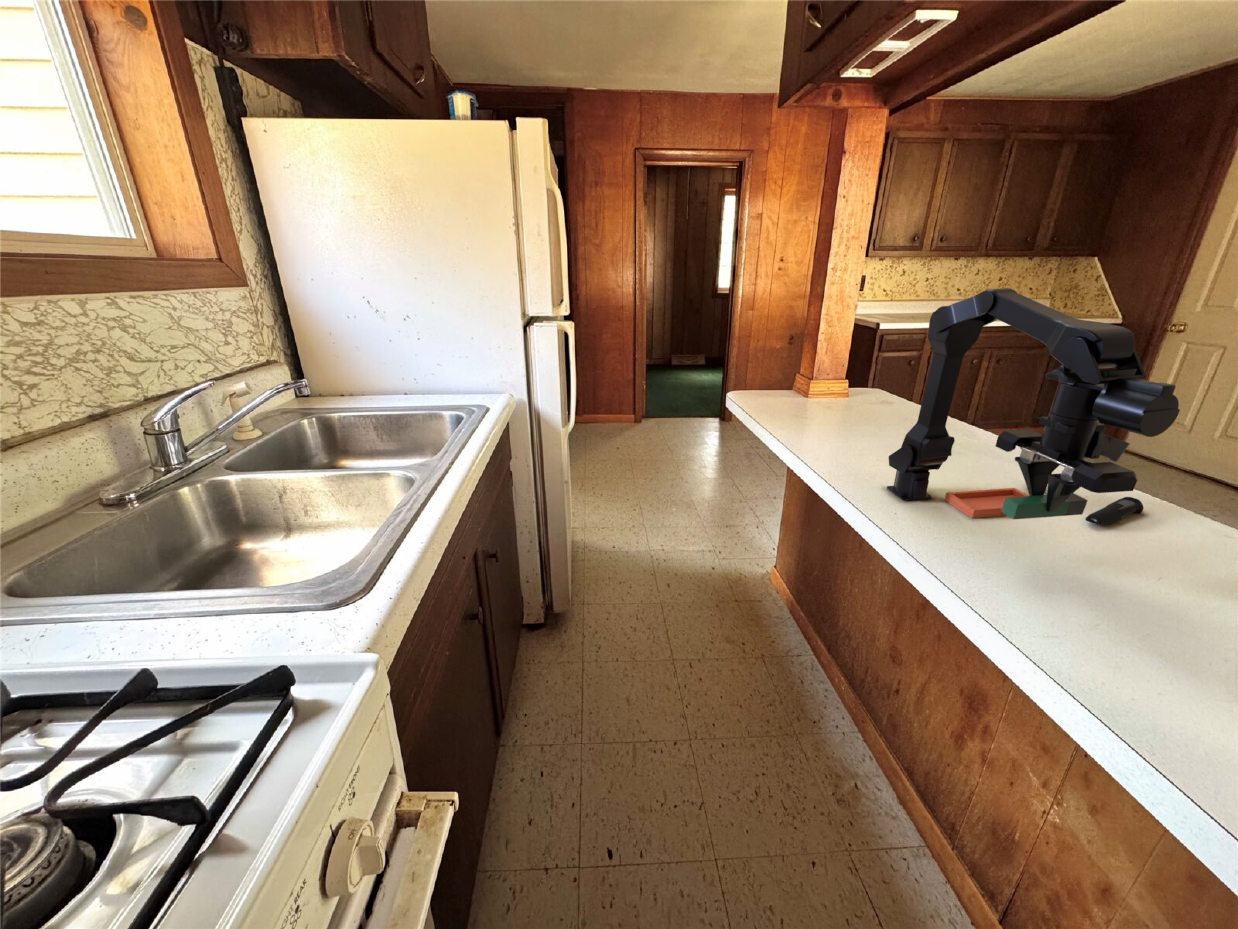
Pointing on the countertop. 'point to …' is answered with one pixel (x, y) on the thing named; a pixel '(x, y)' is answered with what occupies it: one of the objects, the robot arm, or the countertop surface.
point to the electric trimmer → (1115, 511)
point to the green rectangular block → (1041, 507)
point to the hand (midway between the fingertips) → (1043, 507)
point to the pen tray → (982, 501)
